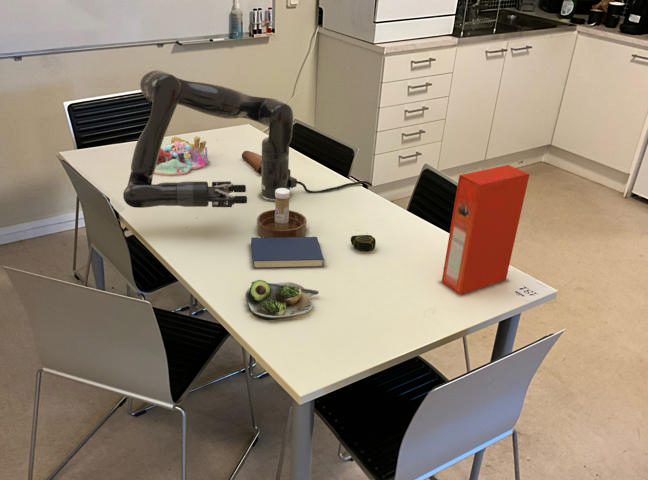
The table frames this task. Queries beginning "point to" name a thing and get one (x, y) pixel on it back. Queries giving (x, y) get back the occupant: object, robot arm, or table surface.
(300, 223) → the bowl
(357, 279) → the table surface
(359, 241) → the tape measure
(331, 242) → the table surface
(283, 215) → the sprinkles bottle
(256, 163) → the sunglasses case
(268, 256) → the book
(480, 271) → the file binder
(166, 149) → the colorful candy landscape
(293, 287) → the salad plate
